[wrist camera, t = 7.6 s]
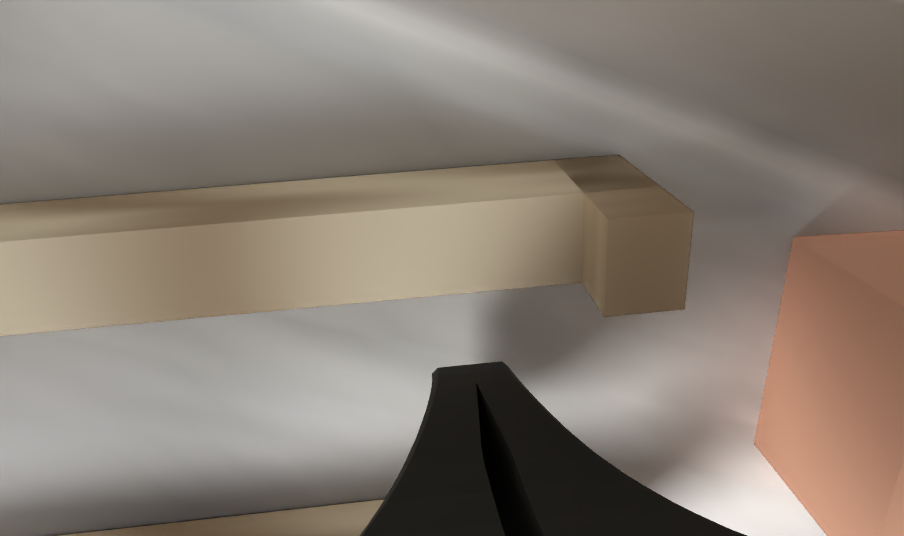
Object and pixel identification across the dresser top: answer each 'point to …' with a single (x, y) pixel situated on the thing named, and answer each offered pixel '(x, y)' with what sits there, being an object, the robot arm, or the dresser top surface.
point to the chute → (340, 260)
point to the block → (840, 382)
